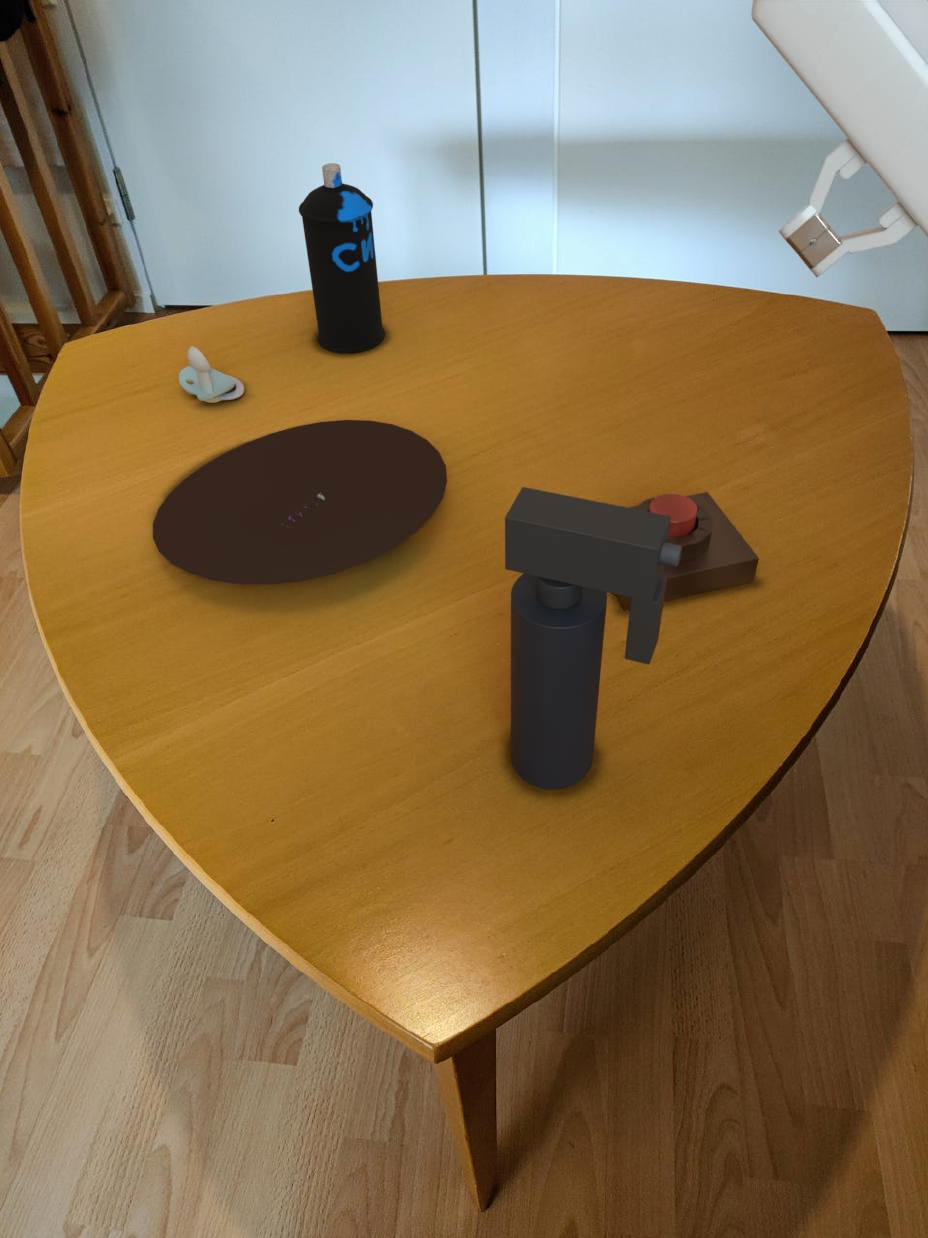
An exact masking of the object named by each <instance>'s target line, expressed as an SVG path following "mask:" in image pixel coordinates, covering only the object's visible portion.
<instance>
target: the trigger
mask: <svg viewBox="0 0 928 1238" xmlns="http://www.w3.org/2000/svg"><path fill="white" fill-rule="evenodd" d="M666 582H667V578H663V577H661V578H660V580H659V583H658V586H657V588H656V591H655V594H654V597H653V599H652V601H651V602H649V601H644V600H640V599H635V598H631V605H630V609H629V615H628V623H627V632H626V641H625V650H624V659H625V660H627V661H632V662H636V663H640V664H644V665H650V664H651V662H652V659H653V656H654V653H655V650H656V648H657V644H658V641H659V637H660V631H661V623H662V618H663V617H662V616H663V609H664V602H665V601H664V596H665V589H666Z"/></svg>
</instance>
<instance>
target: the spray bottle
mask: <svg viewBox="0 0 928 1238" xmlns="http://www.w3.org/2000/svg"><path fill="white" fill-rule="evenodd" d="M670 520H671V517H670V516H667V515H662V514H657V513H652V512H647V511H642V510H637V509H632V508H629V507H626V506H621V505H616V504H611V503H606V502H601V501H596V500H591V499H586V498H581V497H576V496H571V495H570V496H569V495H565V494H561V493H556V492H550V491H545V490H540V489H535V488H531V487H526V486H522V487H521V488H520V490H519V492H518V494H517V496H516V497H515V499H514V501H513V503H512V505H511V506H510V508H509V510H508V511H507V513H506V515H505V517H504V555H505V556H504V569H505V570H507V571H511V572H515V573H519V574H521V575H520V576H518V577H517V579H516V580H515V581H514V583H513V584H512V587H511V590H510V760H511V761H510V762H511V764H512V767H513V769H514V771H515V772H516V774H517V775H518V776H519V777H520V778H521V779H522V780H523V781H524V782H527V783H528V784H530V785H532V786H535V787H537V788H540V789H545V790H562V789H567V788H570V787H572V786H575V785H576V784H578V783H580V782H581V781H582V780H583V779H584V778H585V777H587V775H588V774H589V772H590V771H591V769H592V765H593V760H594V751H595V740H596V727H597V716H598V708H599V707H598V705H599V694H600V683H601V671H602V661H603V651H604V650H603V649H604V640H605V639H604V638H605V630H606V629H605V627H606V617H607V606H608V605H607V604H608V593H609V594H613V595H615V594H618V595H622V596H626V597H631V598H635V599H640V600H644V601H649V602H651V601H652V599H653V597H654V594H655V591H656V588H657V586H658V583H659V580H660V578H661V575H662V572H663V569H664V564H667V565H671V566H676V567H677V566H678V564H679V561H680V557H681V552H682V546H679V545H674V544H669V543H667V542H668V535H669V528H670Z"/></svg>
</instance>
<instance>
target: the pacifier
mask: <svg viewBox="0 0 928 1238" xmlns="http://www.w3.org/2000/svg"><path fill="white" fill-rule="evenodd" d="M186 354H187V355H186V356H187V361H188V363H189V365H187V366H185V367H184V368H183V369H181V371H179V374H178V382H179V384H180V386H181V388H182V389H183V390H184V391H185V392H187V393H189V394H191V395H194V396H196V397H197V400H199V401H200V402H201V401H203V402H206V403H209V404H211V403H213V404H215V403H218V402H221V401H231V400H232V401H233V400H235V399H238V398H240V397H241V396H242V395H243V394H245V393H244V392H245V386H244V384H243V382H242V381H241V380H240V379H238V378H237V377H235V376H232V375H229V374H226V373H223V372H221V371H219V370H217V369H215V368H212V367H211V365H210V363H209V361H208V359H207V358H206V357H205V355H204V354H203V352H202V351H200V349H199V348H197V347H196V346H193V345H191V346H190V347H189V349H188V350H187V353H186ZM188 382H192V384H190V383H188ZM233 388H235V390H233V391H232V392H229V391H231V390H232V389H233Z"/></svg>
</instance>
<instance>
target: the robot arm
mask: <svg viewBox="0 0 928 1238" xmlns="http://www.w3.org/2000/svg"><path fill="white" fill-rule="evenodd" d="M751 3H752V5H751V11H750V17H751V20H752V22H753V23H754V24H755V25H756V26H757V27H758V29H759V30H760V31H761V32H762V34H763V35H764V36H765V38H766V39H767V40H768V41H769V42H770V44H771V45H772V46H773V47H774V49H775V50H776V51H777V53H778V54H779V55H780V56H781V57H782V58H783V60H784V61H785V62H786V64H787V66H789V67H790V69H792V71H793V72H794V74H796V76H797V77H798V78H799V80H801V82H802V83H803V84H804V85H805V87H806V88H807V89H808V90H809V92H810V93H811V94H812V95H813V97H814V98H815V99H816V100H817V102H818V103H819V104H820V105H821V107H822V108H823V109H824V110H825V112H826V113H827V114H828V115H829V117H830V118H831V119H832V120H833V121H834V123H835V124H836V126H838V128H839V130H841V132H842V133H843V134H844V135H845V136H846V137H845V138H844V139H843V140H842V141H841V142H840V143H839V144H838V145H837V146H835V147H834V148H833V149H832V150H831V151H830V152H829V153H828V154H827V155H826V156H825V158H824V161H823V163H822V165H821V168H820V171H819V173H818V176H817V178H816V180H815V182H814V186H813V188H812V190H811V193H810V195H809V198H808V201H807V203H806V204H805V205H804V206H803V207H802V208H801V209H800V210H799V211H798V212H797V213H795V214H794V215H793V216H791V218H790V219H788V220H787V221H786V222H785V223H784V224H783V225H782V226H781V227H780V228H779V230H778V233H779V234H780V235H781V237H782V238H783V239H784V240H785V241H786V243H787V244H788V245H789V246H790V247H791V248H792V250H793V251H794V252H795V253H796V254H797V256H798V257H799V258H800V259H801V260H802V262H803V263H804V264H805V265H806V267H807V268H808V269H809V271H810V272H811V273H812V274H813V275H814V276H815V278H818V277H820V276H821V275H823V274H824V273H825V272H827V271H828V270H829V269H830V268H831V267H833V266H834V265H835V264H836V263H837V262H839V261H840V260H841V259H842V258H844V256H846V255H847V254H848V253H849V254H850V255H852V254H856V253H860V252H865V251H869V250H873V249H878V248H883V247H888V246H892V245H895V244H897V243H898V242H899V241H900V240H902V238H904V237H905V236H907V235H908V234H909V233H910V232H912V231H913V230H914V229H915V228H916V227H919V228H920V230H921V231H922V232H923V233H924V235H925V236H926V237H927V238H928V0H752V2H751ZM866 164H868V166H870V168H872V170H873V171H874V172H875V174H876V175H877V176H878V177H879V179H880V180H881V181H882V182H883V184H884V185H885V186H886V188H887V189H888V190H889V191H890V192H891V193H892V195H893V196H894V199H893V200H892V201H891V202H889V204H888V205H886V206H885V207H884V208H883V209H882V210H881V211H880V212H878V213H877V216H876V219H877V221H878V223H879V225H880V226H877V227H872V228H867V229H865V230H860V231H856V232H853V233H848V234H845V235H839V234H838V233H837V232H836V231H835V230H834V229H833V227H832V226H831V225H830V224H829V223H828V221H827V219H825V218H824V216H823V215H822V214H821V211H822V210H823V209H822V208H823V206H824V204H825V201H826V199H827V197H828V194H829V191H830V190H831V187H832V184H833V182H834V180H835V177H836V175H837V173H838V175H839V176H840V177H841V178H842V179H843V180H848V179H850V178H851V177H852V176H854V174H855V173H857V172H858V171H859V170H860V169H861V168H863V167H864V166H865V165H866Z"/></svg>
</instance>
